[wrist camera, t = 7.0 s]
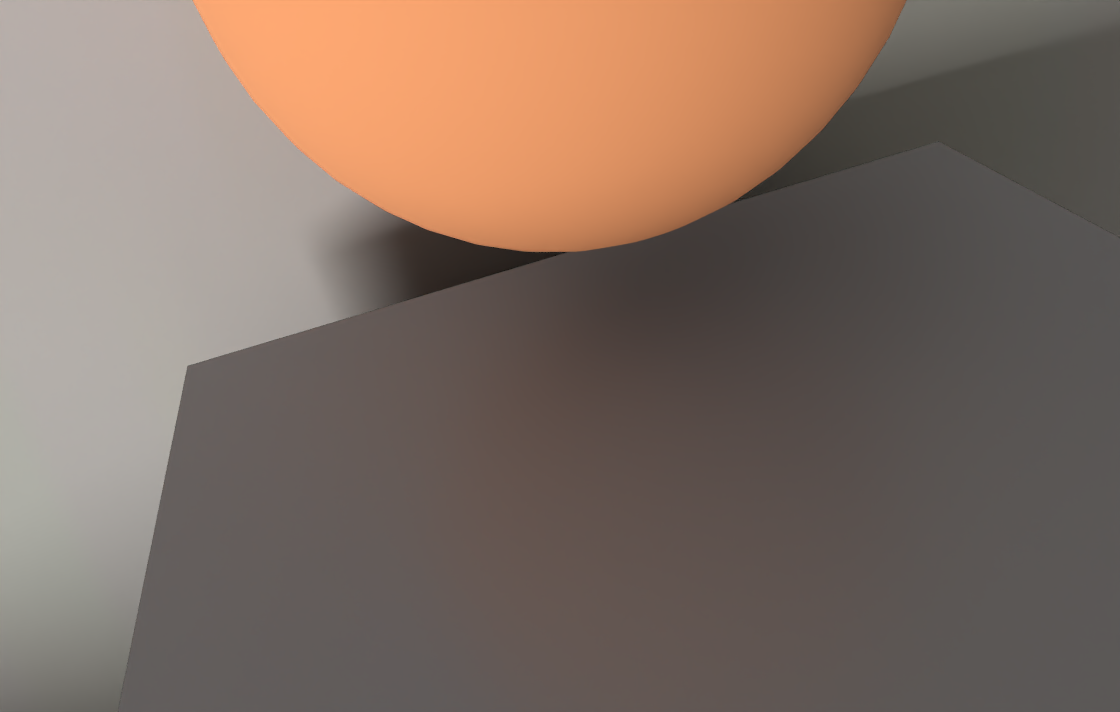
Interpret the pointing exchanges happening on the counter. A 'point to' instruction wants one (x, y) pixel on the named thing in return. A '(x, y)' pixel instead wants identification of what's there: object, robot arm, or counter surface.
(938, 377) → the matte grey cuboid
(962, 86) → the counter surface
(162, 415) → the counter surface
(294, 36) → the ball
